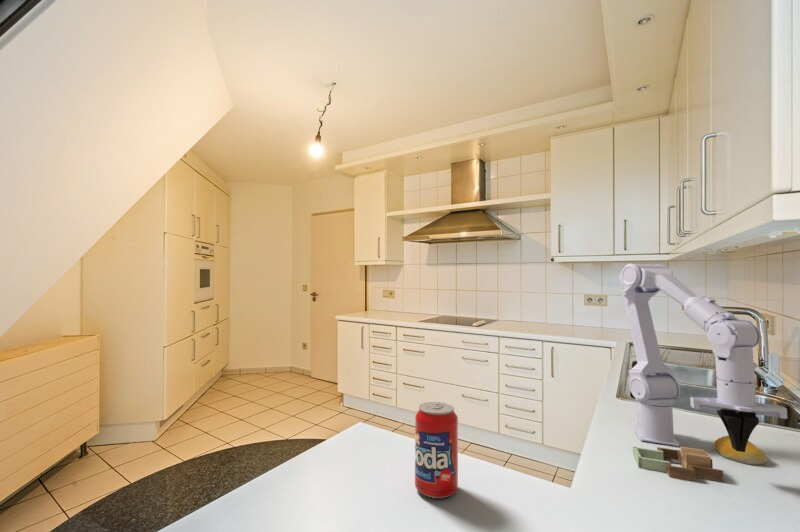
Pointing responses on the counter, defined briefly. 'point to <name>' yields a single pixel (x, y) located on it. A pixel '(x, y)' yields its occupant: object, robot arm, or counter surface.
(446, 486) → the soda can
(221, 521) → the counter surface
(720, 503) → the counter surface
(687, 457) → the oak block
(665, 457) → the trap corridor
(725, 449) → the bread roll
